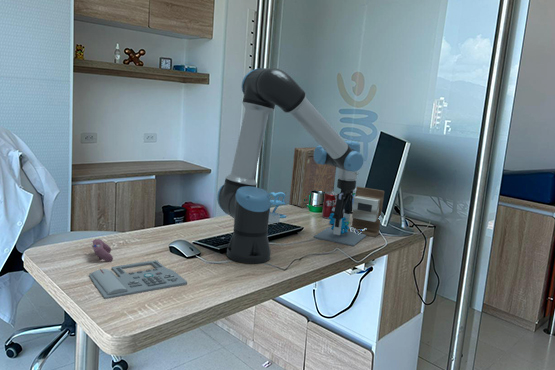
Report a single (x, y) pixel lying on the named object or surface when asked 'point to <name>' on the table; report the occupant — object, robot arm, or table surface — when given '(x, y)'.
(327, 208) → the soda can
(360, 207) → the mounted unit
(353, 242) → the mat
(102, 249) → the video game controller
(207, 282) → the table surface
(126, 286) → the office telephone
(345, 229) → the gear
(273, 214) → the steel block
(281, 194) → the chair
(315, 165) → the book
